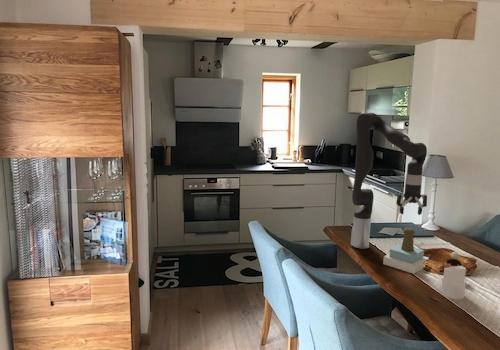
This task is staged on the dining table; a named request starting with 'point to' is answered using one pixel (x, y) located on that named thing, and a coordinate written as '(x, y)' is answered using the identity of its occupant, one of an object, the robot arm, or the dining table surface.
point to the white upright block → (453, 282)
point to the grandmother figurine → (453, 260)
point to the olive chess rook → (408, 240)
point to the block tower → (405, 259)
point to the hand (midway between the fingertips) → (410, 214)
